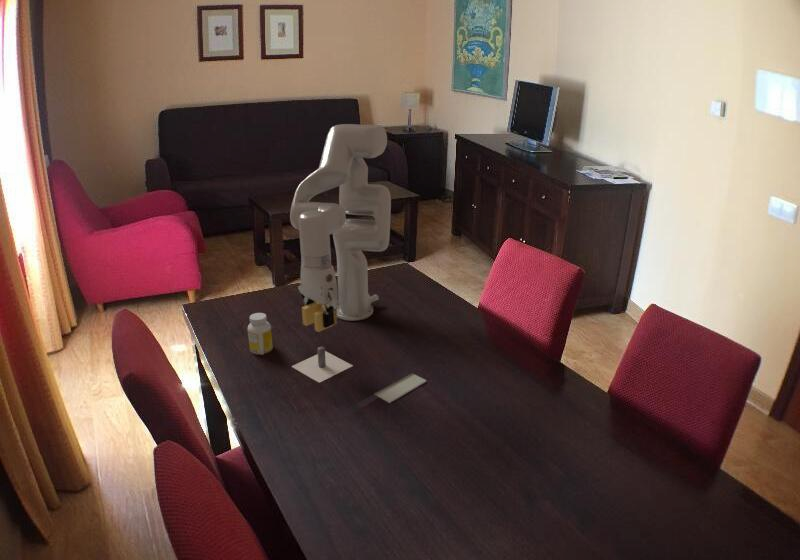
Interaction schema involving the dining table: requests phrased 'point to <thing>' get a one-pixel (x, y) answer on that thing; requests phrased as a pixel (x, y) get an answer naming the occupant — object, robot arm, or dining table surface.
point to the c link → (316, 315)
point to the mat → (400, 387)
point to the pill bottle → (259, 334)
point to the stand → (322, 366)
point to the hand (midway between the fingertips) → (320, 320)
